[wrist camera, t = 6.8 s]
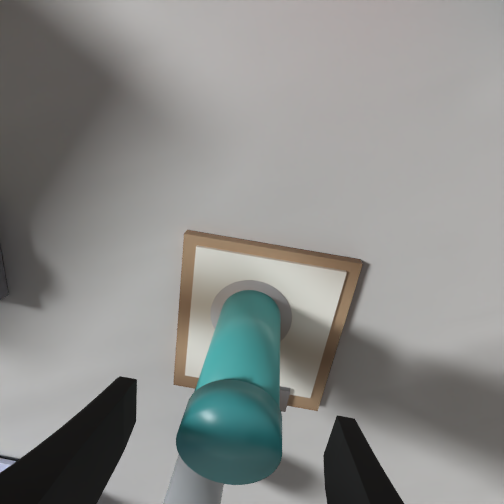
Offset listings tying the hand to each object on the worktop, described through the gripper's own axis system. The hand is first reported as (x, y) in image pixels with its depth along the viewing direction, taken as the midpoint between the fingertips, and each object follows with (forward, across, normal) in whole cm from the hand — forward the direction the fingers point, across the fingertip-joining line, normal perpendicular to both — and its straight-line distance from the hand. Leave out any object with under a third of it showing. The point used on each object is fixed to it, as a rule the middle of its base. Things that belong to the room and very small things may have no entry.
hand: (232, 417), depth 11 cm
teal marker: (+6, 0, 0) cm, 6 cm away
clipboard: (+7, -1, +1) cm, 7 cm away
